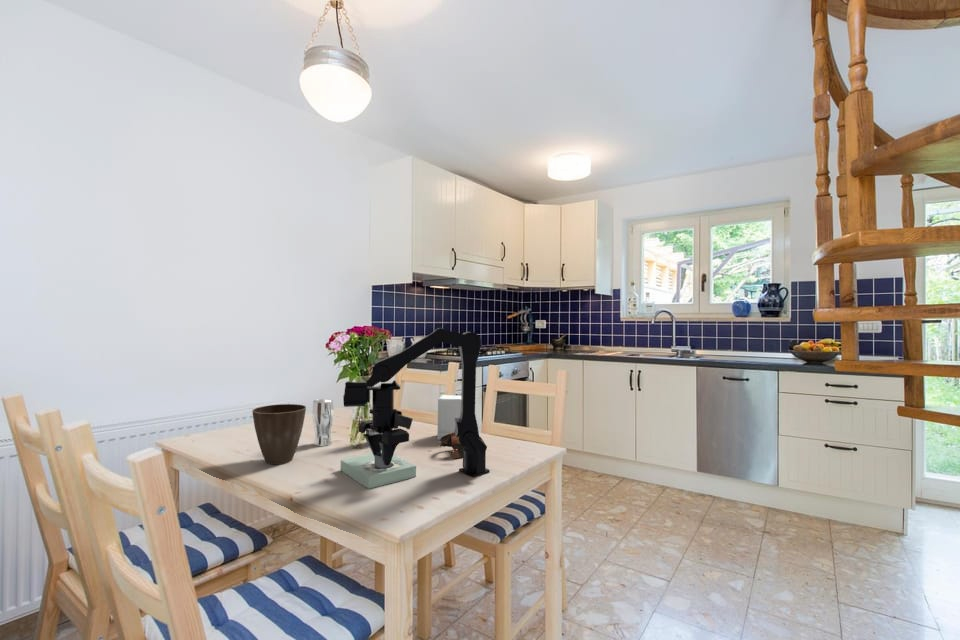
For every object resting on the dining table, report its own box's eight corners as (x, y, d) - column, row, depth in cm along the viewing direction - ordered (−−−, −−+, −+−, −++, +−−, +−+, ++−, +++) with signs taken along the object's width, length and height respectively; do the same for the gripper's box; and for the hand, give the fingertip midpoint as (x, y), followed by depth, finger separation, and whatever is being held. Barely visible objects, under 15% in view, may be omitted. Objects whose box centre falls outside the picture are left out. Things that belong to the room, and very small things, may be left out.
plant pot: (258, 455, 139) (258, 404, 139) (308, 451, 143) (308, 402, 143) (246, 470, 125) (246, 414, 125) (302, 466, 129) (302, 411, 129)
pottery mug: (444, 462, 136) (437, 436, 139) (445, 466, 144) (438, 442, 147) (481, 450, 138) (473, 424, 141) (480, 455, 146) (472, 431, 150)
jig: (415, 476, 121) (416, 465, 121) (368, 488, 112) (368, 477, 112) (384, 460, 135) (384, 450, 135) (340, 470, 126) (340, 459, 126)
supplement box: (461, 441, 157) (461, 399, 157) (437, 440, 158) (437, 398, 158) (465, 434, 166) (465, 395, 166) (441, 433, 167) (442, 394, 167)
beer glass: (312, 442, 155) (313, 399, 155) (333, 440, 157) (333, 398, 157) (311, 447, 148) (311, 403, 148) (333, 445, 150) (333, 401, 150)
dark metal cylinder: (393, 477, 121) (393, 455, 121) (379, 480, 118) (379, 458, 118) (386, 473, 124) (386, 451, 124) (371, 476, 121) (371, 454, 121)
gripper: (426, 407, 119) (426, 465, 119) (392, 398, 133) (392, 449, 133) (389, 412, 112) (389, 474, 112) (357, 402, 126) (357, 456, 126)
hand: (382, 462), depth 121 cm, fingers open, 6 cm apart
